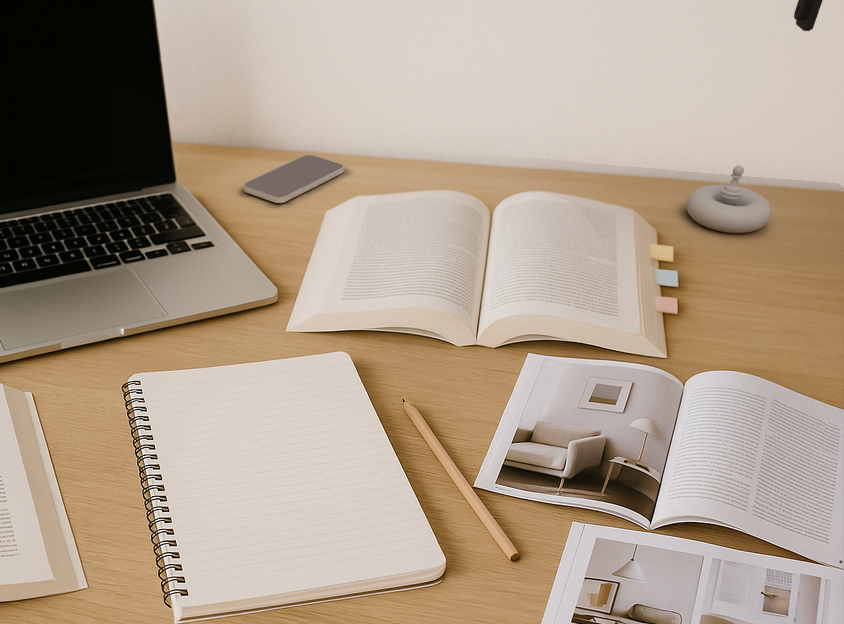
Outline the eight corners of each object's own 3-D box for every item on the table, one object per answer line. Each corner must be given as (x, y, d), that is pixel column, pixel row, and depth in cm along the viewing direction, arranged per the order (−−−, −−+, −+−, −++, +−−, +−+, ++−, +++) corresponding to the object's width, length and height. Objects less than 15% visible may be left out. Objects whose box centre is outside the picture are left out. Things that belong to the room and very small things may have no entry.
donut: (678, 201, 114) (688, 233, 106) (685, 177, 112) (696, 207, 104) (758, 208, 112) (774, 241, 104) (766, 184, 110) (783, 215, 102)
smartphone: (347, 165, 122) (280, 199, 112) (347, 171, 122) (280, 205, 113) (307, 153, 125) (239, 184, 116) (307, 159, 126) (239, 191, 116)
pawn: (719, 197, 106) (728, 168, 104) (719, 189, 108) (728, 160, 106) (741, 201, 106) (751, 171, 103) (741, 193, 107) (751, 163, 105)
